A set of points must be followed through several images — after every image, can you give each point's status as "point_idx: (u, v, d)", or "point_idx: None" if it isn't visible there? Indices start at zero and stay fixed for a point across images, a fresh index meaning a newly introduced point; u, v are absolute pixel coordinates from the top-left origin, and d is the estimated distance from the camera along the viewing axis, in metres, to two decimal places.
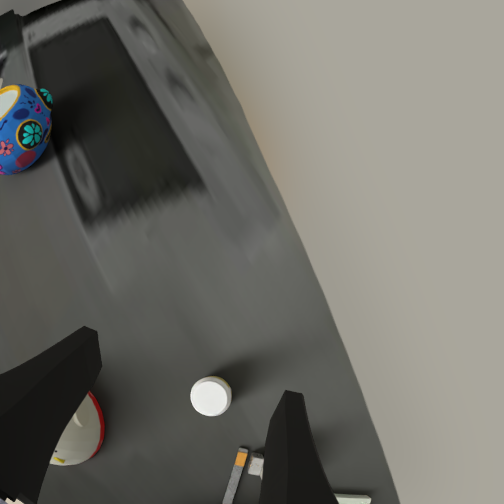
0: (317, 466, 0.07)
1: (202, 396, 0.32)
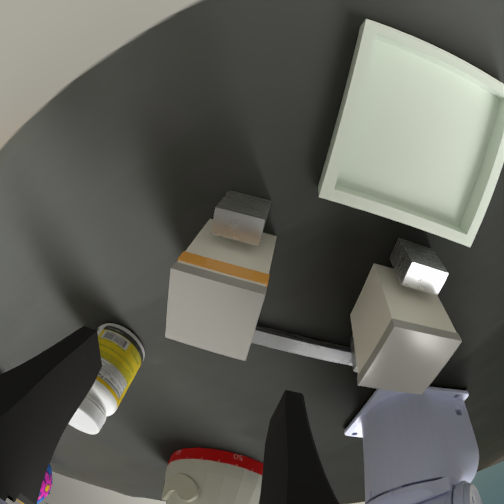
0: (317, 466, 0.07)
1: (76, 423, 0.18)
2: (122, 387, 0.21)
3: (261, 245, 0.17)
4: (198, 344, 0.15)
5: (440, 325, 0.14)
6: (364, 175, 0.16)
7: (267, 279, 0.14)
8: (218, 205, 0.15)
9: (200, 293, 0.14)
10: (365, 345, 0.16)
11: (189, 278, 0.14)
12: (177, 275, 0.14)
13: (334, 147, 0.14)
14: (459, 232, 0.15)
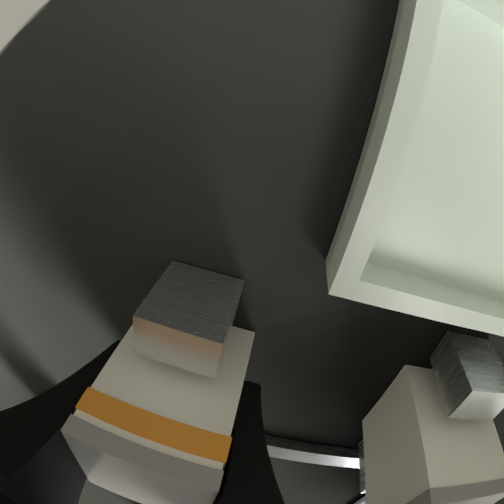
0: (264, 457, 0.07)
1: None
2: None
3: (225, 360, 0.10)
4: (134, 499, 0.08)
5: (491, 470, 0.06)
6: (412, 244, 0.08)
7: (226, 451, 0.07)
8: (140, 309, 0.08)
9: (115, 466, 0.06)
10: (381, 491, 0.09)
11: (91, 449, 0.06)
12: (73, 440, 0.06)
13: (366, 200, 0.07)
14: None
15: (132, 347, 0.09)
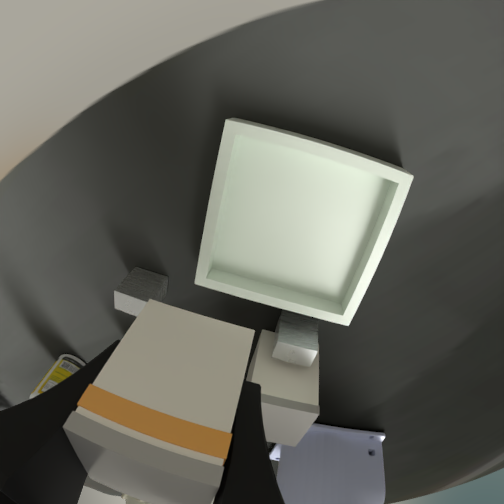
0: (264, 458, 0.07)
1: None
2: None
3: (225, 358, 0.10)
4: (134, 496, 0.08)
5: (302, 397, 0.17)
6: (239, 262, 0.19)
7: (226, 447, 0.07)
8: (117, 288, 0.18)
9: (117, 462, 0.07)
10: None
11: (93, 445, 0.06)
12: (75, 437, 0.06)
13: (202, 244, 0.17)
14: (334, 313, 0.18)
15: (133, 345, 0.09)
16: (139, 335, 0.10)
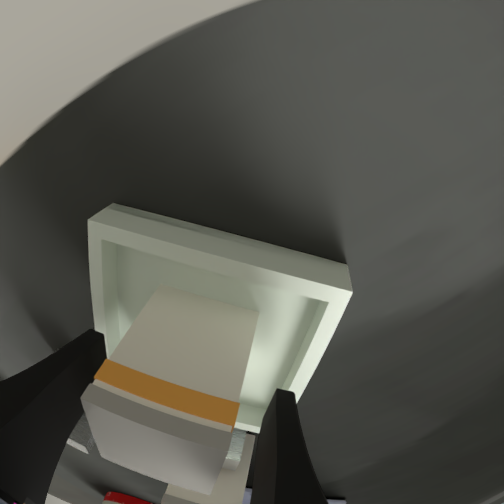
0: (307, 465, 0.07)
1: None
2: None
3: (232, 336, 0.11)
4: (144, 472, 0.09)
5: (223, 502, 0.13)
6: None
7: (235, 415, 0.08)
8: None
9: (130, 432, 0.07)
10: None
11: (109, 415, 0.07)
12: (92, 408, 0.07)
13: None
14: (257, 426, 0.14)
15: (146, 324, 0.10)
16: (152, 315, 0.11)
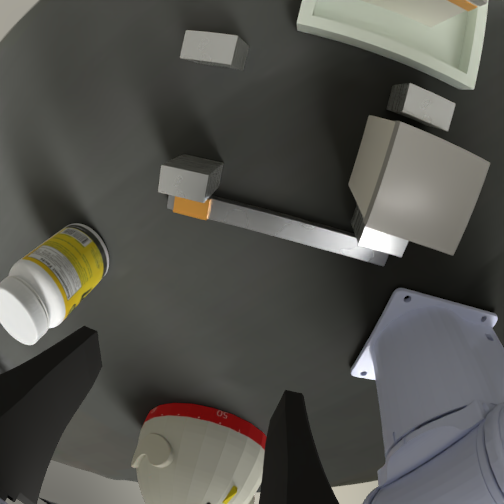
0: (317, 466, 0.07)
1: (15, 328, 0.15)
2: (73, 286, 0.17)
3: None
4: None
5: None
6: (345, 14, 0.12)
7: None
8: None
9: None
10: (369, 183, 0.12)
11: None
12: None
13: None
14: (458, 70, 0.11)
15: None
16: None
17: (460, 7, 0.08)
